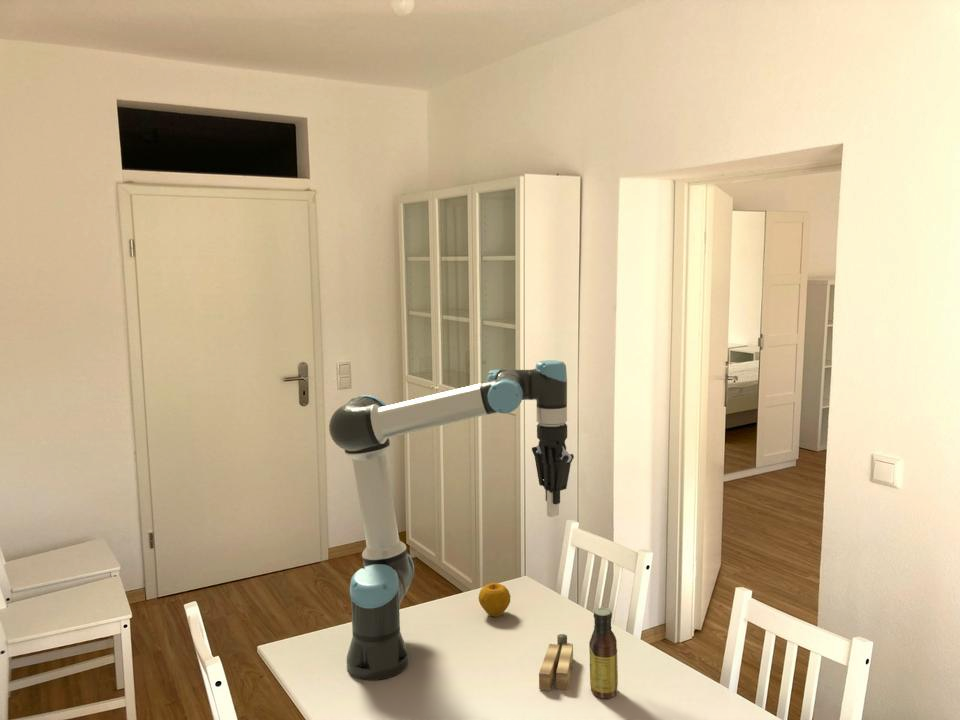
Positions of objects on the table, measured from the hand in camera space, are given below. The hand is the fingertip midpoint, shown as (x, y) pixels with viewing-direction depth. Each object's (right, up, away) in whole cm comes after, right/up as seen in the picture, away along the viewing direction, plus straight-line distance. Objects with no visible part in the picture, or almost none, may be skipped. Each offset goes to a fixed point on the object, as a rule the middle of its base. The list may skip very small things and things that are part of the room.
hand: (553, 515), depth 195 cm
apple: (-14, -32, +22) cm, 42 cm away
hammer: (+1, -36, -8) cm, 37 cm away
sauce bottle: (+10, -37, -18) cm, 42 cm away
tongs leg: (-2, -36, -10) cm, 37 cm away
